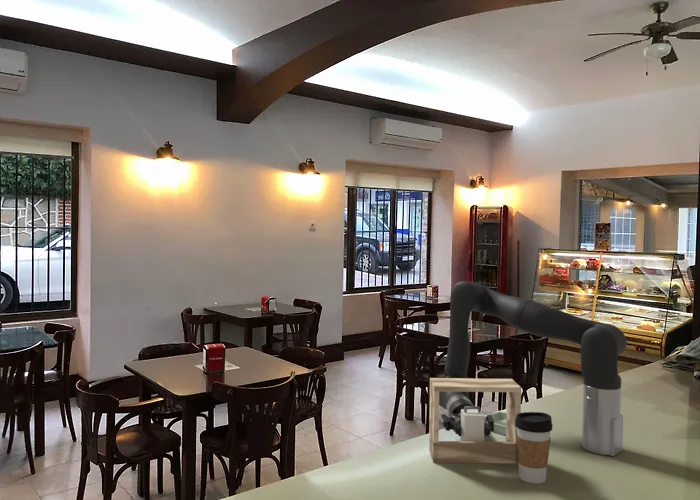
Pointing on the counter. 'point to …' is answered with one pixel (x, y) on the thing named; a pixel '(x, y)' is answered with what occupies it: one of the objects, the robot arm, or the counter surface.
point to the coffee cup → (533, 445)
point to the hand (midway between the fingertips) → (474, 432)
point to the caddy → (472, 424)
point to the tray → (499, 422)
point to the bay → (474, 449)
